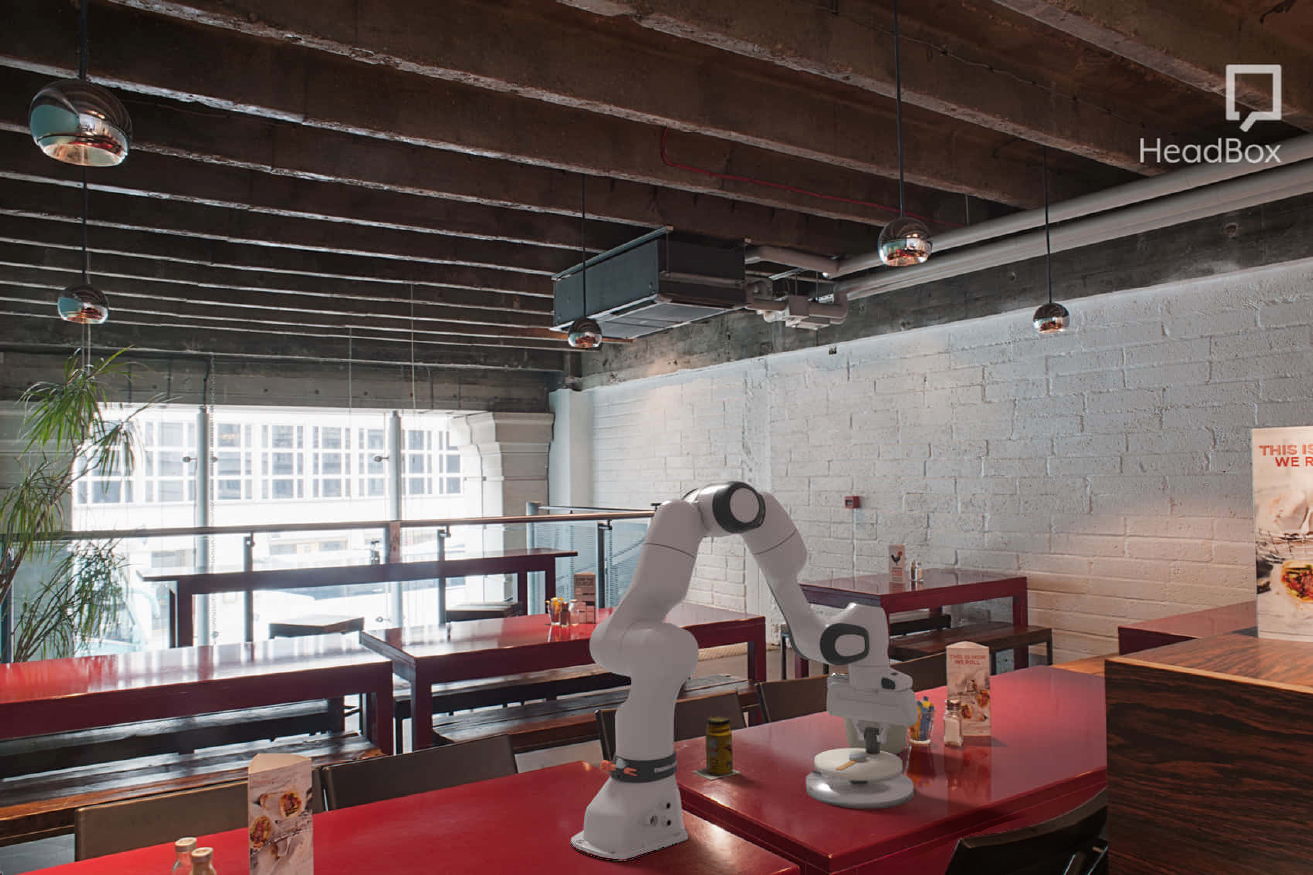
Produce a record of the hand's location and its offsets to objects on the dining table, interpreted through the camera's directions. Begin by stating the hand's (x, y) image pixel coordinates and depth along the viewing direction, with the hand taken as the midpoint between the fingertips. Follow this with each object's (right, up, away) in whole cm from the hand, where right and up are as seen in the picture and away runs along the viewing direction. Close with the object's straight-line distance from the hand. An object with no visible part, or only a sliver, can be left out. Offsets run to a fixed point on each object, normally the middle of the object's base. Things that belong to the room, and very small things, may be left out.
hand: (872, 741), depth 190 cm
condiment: (-33, -11, +9) cm, 36 cm away
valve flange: (-4, -8, -6) cm, 11 cm away
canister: (+7, -10, +23) cm, 26 cm away
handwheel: (-4, -4, -6) cm, 8 cm away
